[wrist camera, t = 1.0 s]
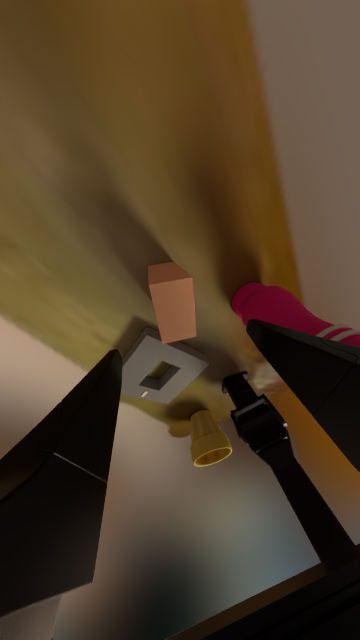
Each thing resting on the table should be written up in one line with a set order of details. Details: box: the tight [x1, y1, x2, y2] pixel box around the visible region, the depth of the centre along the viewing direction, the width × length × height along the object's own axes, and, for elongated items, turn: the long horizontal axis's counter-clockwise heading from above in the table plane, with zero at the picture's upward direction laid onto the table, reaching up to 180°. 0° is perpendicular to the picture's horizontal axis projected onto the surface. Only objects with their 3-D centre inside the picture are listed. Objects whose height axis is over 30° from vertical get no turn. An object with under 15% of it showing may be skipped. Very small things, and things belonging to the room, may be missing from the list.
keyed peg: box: [148, 262, 196, 344], centre depth 16 cm, size 6×4×9 cm, turn 7°
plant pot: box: [190, 410, 232, 467], centre depth 38 cm, size 10×10×10 cm
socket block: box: [121, 326, 209, 404], centre depth 26 cm, size 14×14×3 cm
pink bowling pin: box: [232, 282, 360, 347], centre depth 16 cm, size 7×7×20 cm
